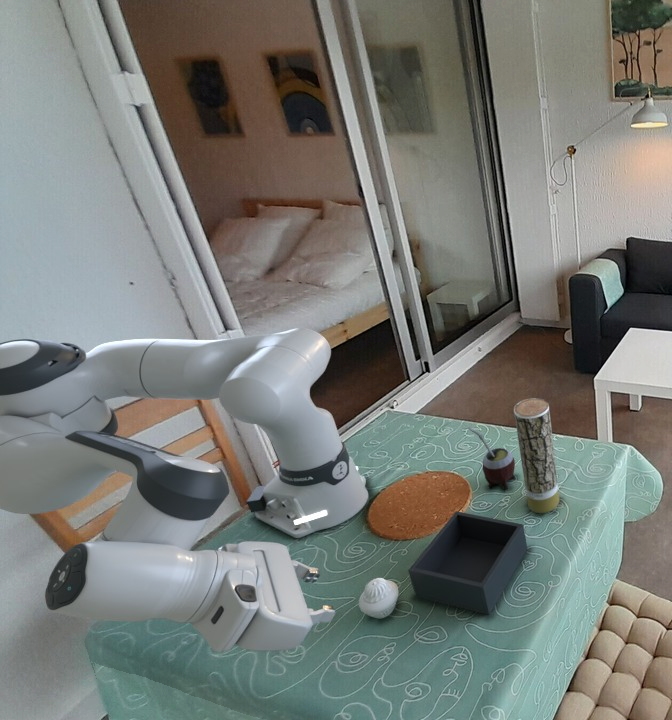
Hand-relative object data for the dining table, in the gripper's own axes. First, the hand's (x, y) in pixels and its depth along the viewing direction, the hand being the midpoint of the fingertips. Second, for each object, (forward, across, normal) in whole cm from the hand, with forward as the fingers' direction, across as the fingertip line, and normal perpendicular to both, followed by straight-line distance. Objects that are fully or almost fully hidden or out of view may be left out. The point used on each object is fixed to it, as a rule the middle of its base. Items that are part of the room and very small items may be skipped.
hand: (324, 594), depth 78 cm
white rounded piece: (+12, 0, -2) cm, 12 cm away
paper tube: (+36, -4, +22) cm, 43 cm away
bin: (+22, +3, +8) cm, 24 cm away
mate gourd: (+34, -17, +19) cm, 42 cm away
